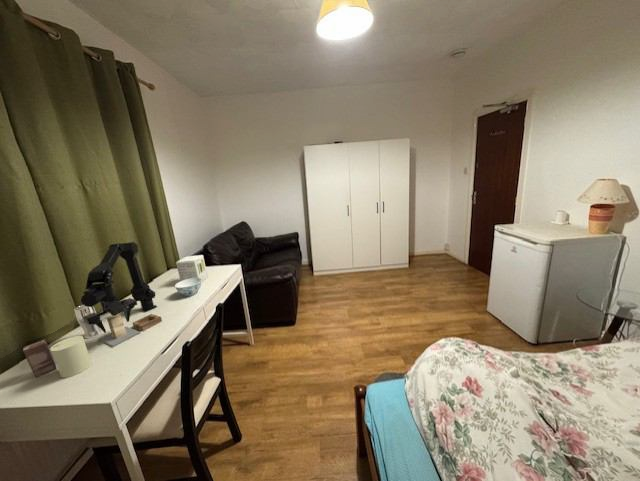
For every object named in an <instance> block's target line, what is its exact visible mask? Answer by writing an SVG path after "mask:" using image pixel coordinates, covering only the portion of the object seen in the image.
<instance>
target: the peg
mask: <svg viewBox="0 0 640 481" xmlns="http://www.w3.org/2000/svg"><path fill="white" fill-rule="evenodd" d="M106 320H107V323H108V327H109V330H110V333H112V336H113V337H114V338H116V339H117V338H119V337H121V336H123V335H125V334H127V333H126V330H125V325H124V320H123V318H122V315H121V313H119V314H117V315H116V316H112V315H111V314H110V316H107V317H106Z"/></svg>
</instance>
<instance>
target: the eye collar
mask: <svg viewBox="0 0 640 481" xmlns="http://www.w3.org/2000/svg"><path fill="white" fill-rule="evenodd" d="M162 322H163V319H162V316H159V315H157V314H154V313H150V314H148V315H146V316H144V317H142V318H140V319H138V320H135V321H133V322H132V326H133V329H134V328H135V329H136V330H138V331H139V330H140V331H142V332H144V331H146V330H148V329H150V328H152V327H154V326H156V325H158V324H160V323H162Z"/></svg>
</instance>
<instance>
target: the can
mask: <svg viewBox="0 0 640 481" xmlns="http://www.w3.org/2000/svg"><path fill="white" fill-rule="evenodd" d="M49 349H50V352H51V354H52V356H53V359H54V361H55V363H56V367H57V369H58V371H59V375H60V378H63V379H66V378H71V377H73V376H76V375H79V374H81V373H82V372H84V371H86V370H88V368H90V367H91V366H92V365H93V360H92V359H91V356H90V353H89V351H88V348H87V346H86V343H85V340H84V337H83V335H74V336H70V337H68V338H65V339H63V340H60V341H59V342H57V343H55V344H53V345H52V346H51V347H50V348H49Z"/></svg>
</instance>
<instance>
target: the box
mask: <svg viewBox="0 0 640 481" xmlns="http://www.w3.org/2000/svg"><path fill="white" fill-rule="evenodd" d="M22 349H23V350H22V352H23V354H24V356H25V358H26V360H27V362H28V365H29V367H30V370H31V372H32V373H33V375H34V378H38V377H40V376H44V375H45V374H47V373H50V372H52V371H54V370H57V369H58V367H57V364H56V362H55V359H54V357H53V354H52V352H51V351H50V349H51V348H49V345H48V342H47V340H46V339H41V340H39V341H37V342H33V343H31V344H29V345H26V346H24V347H23V348H22Z"/></svg>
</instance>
